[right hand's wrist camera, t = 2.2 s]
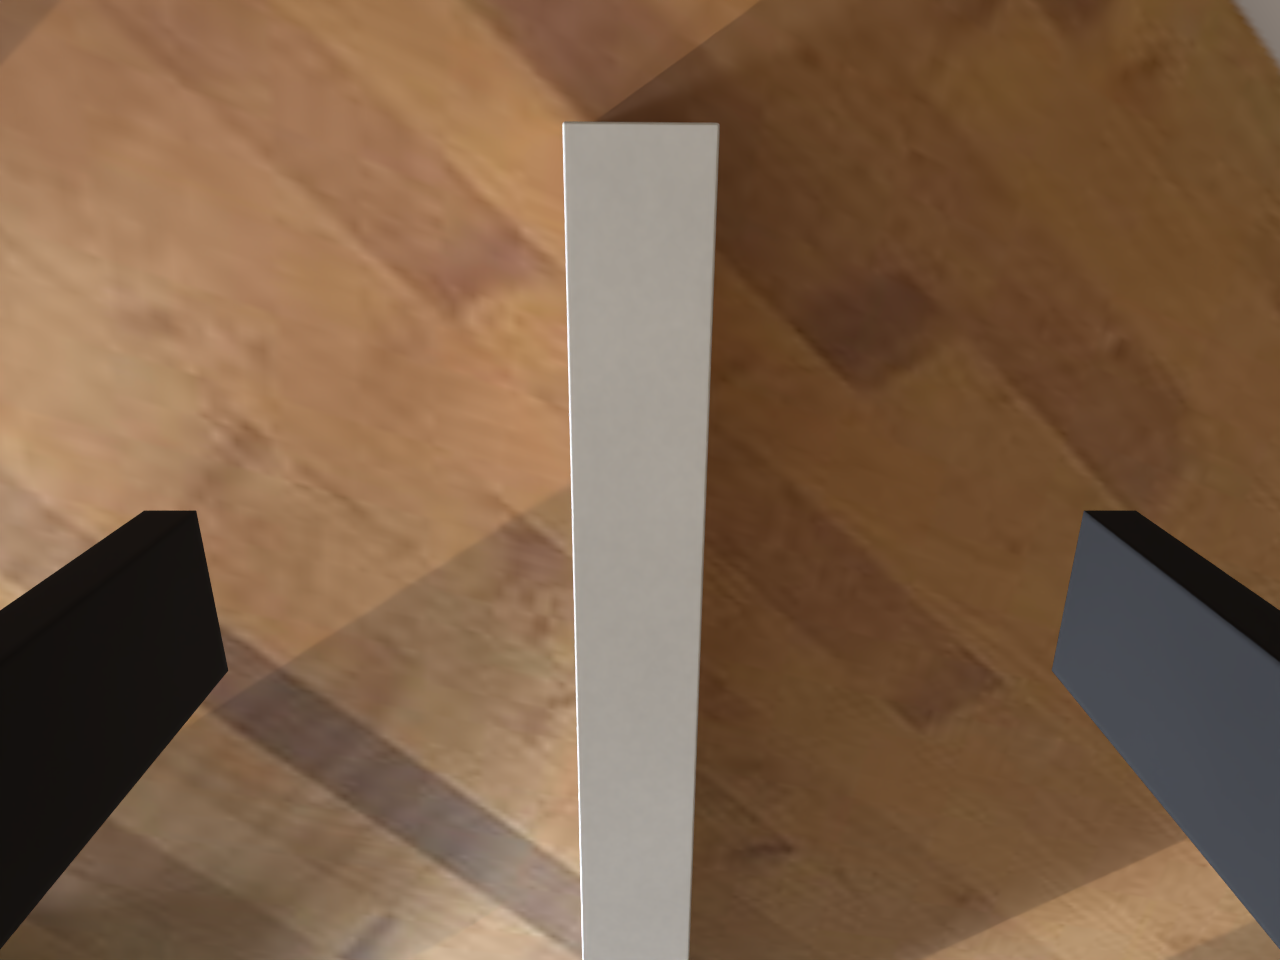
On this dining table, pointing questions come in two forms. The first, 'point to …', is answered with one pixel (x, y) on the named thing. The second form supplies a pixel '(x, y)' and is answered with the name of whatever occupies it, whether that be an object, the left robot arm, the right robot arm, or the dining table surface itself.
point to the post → (638, 514)
